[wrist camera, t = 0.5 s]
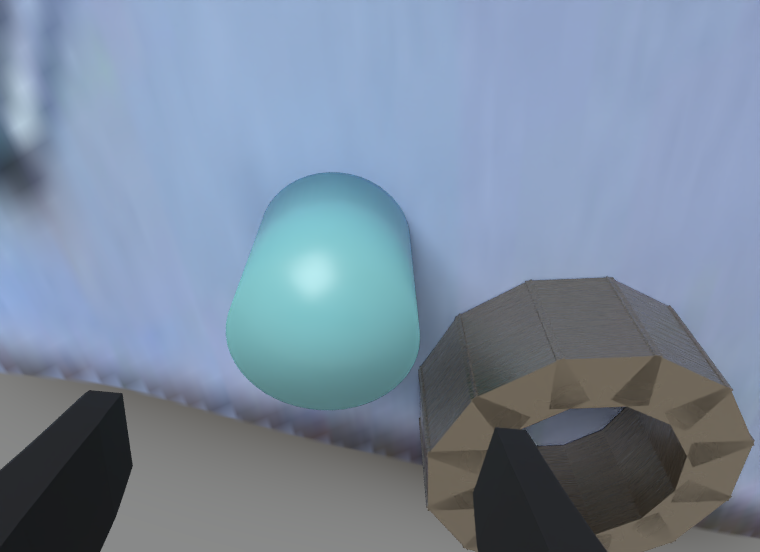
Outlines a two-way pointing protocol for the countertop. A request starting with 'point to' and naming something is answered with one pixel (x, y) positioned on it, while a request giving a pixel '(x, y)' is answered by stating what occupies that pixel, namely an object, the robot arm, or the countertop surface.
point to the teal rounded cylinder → (327, 296)
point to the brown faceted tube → (584, 390)
